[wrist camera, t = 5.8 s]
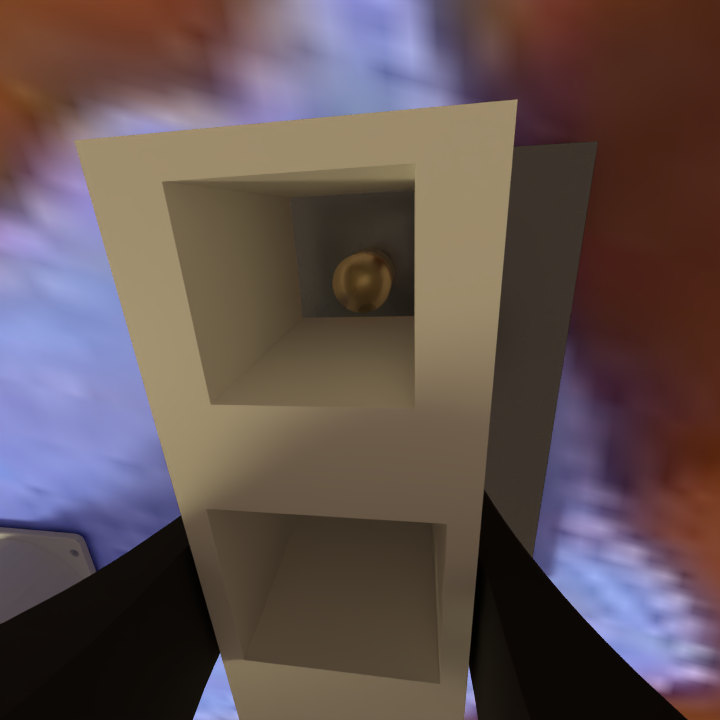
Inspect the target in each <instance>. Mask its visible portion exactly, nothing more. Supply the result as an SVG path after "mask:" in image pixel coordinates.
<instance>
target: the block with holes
mask: <svg viewBox="0 0 720 720" xmlns="http://www.w3.org/2000/svg"><path fill="white" fill-rule="evenodd" d="M517 100H518V99H517ZM517 100H506V101H495V102H484V103H474V104H463V105H452V106H441V107H431V108H420V109H409V110H398V111H388V112H377V113H366V114H355V115H344V116H334V117H323V118H312V119H301V120H291V121H280V122H269V123H258V124H248V125H237V126H226V127H215V128H204V129H194V130H183V131H172V132H161V133H151V134H140V135H129V136H118V137H108V138H97V139H86V140H75V144H76V148H77V151H78V155H79V158H80V162H81V165H82V169H83V172H84V176H85V179H86V183H87V186H88V190H89V194H90V197H91V201H92V204H93V208H94V211H95V215H96V218H97V222H98V225H99V229H100V232H101V236H102V239H103V243H104V246H105V250H106V253H107V257H108V260H109V264H110V267H111V271H112V274H113V278H114V281H115V285H116V288H117V292H118V295H119V299H120V302H121V306H122V309H123V313H124V316H125V320H126V323H127V327H128V330H129V334H130V337H131V341H132V344H133V348H134V351H135V355H136V358H137V362H138V365H139V369H140V372H141V376H142V379H143V383H144V387H145V390H146V394H147V397H148V401H149V404H150V408H151V411H152V415H153V418H154V422H155V425H156V429H157V432H158V436H159V439H160V443H161V446H162V450H163V453H164V457H165V460H166V464H167V467H168V471H169V474H170V478H171V481H172V485H173V488H174V492H175V495H176V499H177V502H178V506H179V509H180V513H181V516H182V520H183V523H184V527H185V530H186V534H187V537H188V541H189V544H190V548H191V551H192V555H193V558H194V562H195V565H196V569H197V573H198V576H199V580H200V583H201V587H202V590H203V594H204V597H205V601H206V604H207V608H208V611H209V615H210V618H211V622H212V625H213V629H214V632H215V636H216V639H217V643H218V646H219V650H220V653H221V657H222V660H223V664H224V667H225V671H226V674H227V678H228V681H229V685H230V688H231V692H232V695H233V699H234V702H235V706H236V709H237V713H238V716H239V720H464V713H465V701H466V690H467V678H468V667H469V655H470V643H471V632H472V620H473V609H474V597H475V586H476V574H477V563H478V551H479V539H480V528H481V516H482V505H483V493H484V482H485V470H486V459H487V447H488V435H489V424H490V412H491V401H492V389H493V378H494V366H495V355H496V343H497V331H498V320H499V308H500V297H501V285H502V274H503V262H504V251H505V239H506V227H507V216H508V204H509V193H510V181H511V170H512V158H513V146H514V135H515V123H516V112H517ZM407 190H415V196H414V316H382V317H315V318H303V314H302V305H301V296H300V286H299V277H298V268H297V259H296V249H295V240H294V231H293V222H292V212H291V203H290V198H295V197H311V196H327V195H343V194H359V193H375V192H391V191H407Z"/></svg>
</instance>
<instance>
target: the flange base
mask: <svg viewBox="0 0 720 720" xmlns="http://www.w3.org/2000/svg"><path fill="white" fill-rule="evenodd" d="M597 144H598V141H595V142H579V143H564V144H548V145H533V146H518V147H513V158H512V170H511V181H510V193H509V204H508V216H507V227H506V239H505V251H504V262H503V274H502V285H501V297H500V308H499V320H498V331H497V343H496V355H495V366H494V378H493V389H492V401H491V412H490V424H489V435H488V447H487V459H486V470H485V482H484V489H485V491H486V493H487V494H488V496H489V498H490V499H491V501H492V502H493V504H494V505H495V507H496V508H497V510H498V511H499V513H500V514H501V516H502V517H503V519H504V520H505V522H506V523H507V525H508V526H509V527H510V529H511V530H512V532H513V533H514V534H515V536H516V537H517V538H518V540H519V541H520V542H521V544H522V545H523V546H524V548H525V549H526V550H527V551H528V553H529V554H530V555H531V557H532V558H533V552H534V546H535V539H536V533H537V527H538V520H539V514H540V507H541V501H542V495H543V488H544V482H545V476H546V469H547V463H548V456H549V450H550V444H551V437H552V431H553V425H554V418H555V412H556V405H557V399H558V393H559V386H560V380H561V374H562V367H563V361H564V354H565V348H566V342H567V335H568V329H569V322H570V316H571V310H572V303H573V297H574V291H575V284H576V278H577V271H578V265H579V259H580V252H581V246H582V240H583V233H584V227H585V220H586V214H587V208H588V201H589V195H590V189H591V182H592V176H593V169H594V163H595V157H596V150H597ZM414 196H415V190H407V191H391V192H375V193H359V194H343V195H327V196H311V197H295V198H290V203H291V212H292V222H293V231H294V240H295V249H296V259H297V268H298V277H299V286H300V296H301V305H302V314H303V318H315V317H382V316H414Z"/></svg>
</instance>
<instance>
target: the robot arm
mask: <svg viewBox="0 0 720 720" xmlns="http://www.w3.org/2000/svg"><path fill="white" fill-rule="evenodd" d="M219 654H220V650H219V646H218V643H217V639H216V636H215V632H214V629H213V625H212V622H211V618H210V615H209V611H208V608H207V604H206V601H205V597H204V594H203V590H202V587H201V583H200V580H199V576H198V573H197V569H196V565H195V562H194V558H193V555H192V551H191V548H190V544H189V541H188V537H187V534H186V530H185V527H184V523H183V520H182V516H179V517H178V518H177V519H175V520H174V521H173V522H171V523H170V524H168V525H167V526H165V527H164V528H162V529H161V530H160V531H158V532H157V533H155V534H154V535H152V536H151V537H149V538H148V539H146V540H145V541H143V542H142V543H140V544H139V545H138V546H136V547H135V548H133V549H132V550H130V551H129V552H127V553H126V554H124V555H123V556H121V557H119V558H118V559H116V560H115V561H113V562H111V563H110V564H108V565H107V566H105V567H103V568H102V569H100V570H98V571H97V572H96V569H95V567H94V564H93V561H92V558H91V556H90V553H89V550H88V547H87V545H86V542H85V540H84V538H83V537H82V536H80V535H79V534H74V533H63V532H51V531H39V530H28V529H16V528H4V527H0V720H193V718H194V715H195V712H196V710H197V707H198V704H199V702H200V699H201V696H202V694H203V691H204V688H205V686H206V684H207V681H208V679H209V677H210V674H211V672H212V670H213V667H214V665H215V663H216V661H217V659H218V657H219ZM469 668H470V674H471V679H472V685H473V690H474V696H475V702H476V708H477V715H478V720H687V719H686V718H685V717H684V716H683V715H682V714H681V713H680V712H679V711H678V710H676V709H675V708H674V707H673V706H672V705H671V704H670V703H669V702H668V701H667V700H666V699H665V698H664V697H662V696H661V695H660V694H659V693H658V692H657V691H656V690H655V689H654V688H653V687H652V686H651V685H649V684H648V683H647V682H646V681H645V680H644V679H643V678H642V677H641V676H640V675H639V674H638V673H637V672H636V671H635V670H634V669H633V668H632V667H631V666H630V665H629V664H628V663H627V662H626V661H625V660H624V659H623V658H622V657H621V656H620V655H619V654H618V653H617V652H616V651H615V650H614V649H613V648H612V647H611V646H610V645H609V644H608V643H607V642H606V641H605V640H604V639H603V638H602V637H601V636H600V635H599V634H598V633H597V632H596V631H595V630H594V629H593V628H592V627H591V625H590V624H589V623H588V622H587V621H586V620H585V619H584V618H583V617H582V616H581V615H580V614H579V613H578V611H577V610H576V609H575V608H574V607H573V606H572V605H571V604H570V602H569V601H568V600H567V599H566V598H565V597H564V596H563V595H562V593H561V592H560V591H559V590H558V589H557V587H556V586H555V585H554V584H553V583H552V581H551V580H550V579H549V578H548V577H547V576H546V574H545V573H544V572H543V571H542V569H541V568H540V567H539V566H538V564H537V563H536V562H535V561H534V559H533V558H532V557H531V555H530V554H529V553H528V551H527V550H526V549H525V548H524V546H523V545H522V544H521V542H520V541H519V540H518V538H517V537H516V536H515V534H514V533H513V532H512V530H511V529H510V527H509V526H508V525H507V523H506V522H505V520H504V519H503V517H502V516H501V514H500V513H499V511H498V510H497V508H496V507H495V505H494V504H493V502H492V501H491V499H490V498H489V496H488V494H487V493H486V491H485V489H484V493H483V505H482V516H481V528H480V539H479V551H478V563H477V574H476V586H475V597H474V609H473V620H472V632H471V643H470V655H469Z"/></svg>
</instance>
